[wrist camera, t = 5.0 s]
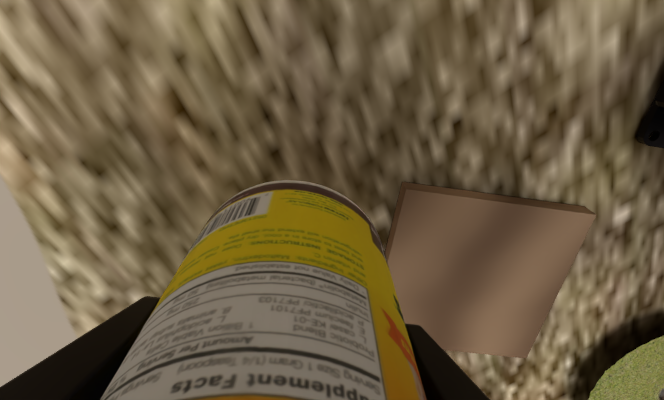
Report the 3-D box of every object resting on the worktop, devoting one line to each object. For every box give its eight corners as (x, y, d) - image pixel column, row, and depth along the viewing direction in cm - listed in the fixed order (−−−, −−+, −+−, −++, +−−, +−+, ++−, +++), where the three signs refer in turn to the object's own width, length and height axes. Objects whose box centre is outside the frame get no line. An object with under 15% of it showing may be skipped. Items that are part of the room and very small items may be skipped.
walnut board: (584, 206, 20) (596, 214, 19) (518, 345, 24) (526, 358, 23) (402, 181, 19) (406, 189, 19) (365, 330, 24) (367, 342, 23)
